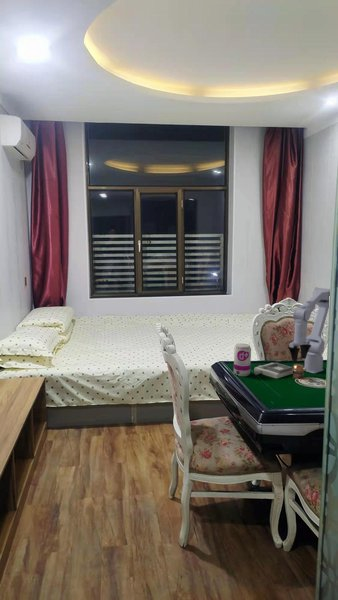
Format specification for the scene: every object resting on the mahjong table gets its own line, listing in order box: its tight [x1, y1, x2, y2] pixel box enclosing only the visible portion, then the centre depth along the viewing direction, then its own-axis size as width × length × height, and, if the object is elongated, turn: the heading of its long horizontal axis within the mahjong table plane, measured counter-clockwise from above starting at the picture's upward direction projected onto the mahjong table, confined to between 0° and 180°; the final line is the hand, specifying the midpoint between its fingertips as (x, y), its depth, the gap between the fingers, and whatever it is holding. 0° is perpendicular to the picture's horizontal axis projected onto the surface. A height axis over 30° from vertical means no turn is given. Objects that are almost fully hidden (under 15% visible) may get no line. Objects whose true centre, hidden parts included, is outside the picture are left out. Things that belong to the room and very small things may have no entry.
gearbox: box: [253, 362, 293, 379], centre depth 216 cm, size 19×14×4 cm
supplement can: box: [233, 343, 252, 377], centre depth 213 cm, size 8×8×15 cm
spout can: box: [292, 363, 307, 380], centre depth 210 cm, size 5×6×6 cm
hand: (298, 359), depth 209 cm, fingers open, 7 cm apart
